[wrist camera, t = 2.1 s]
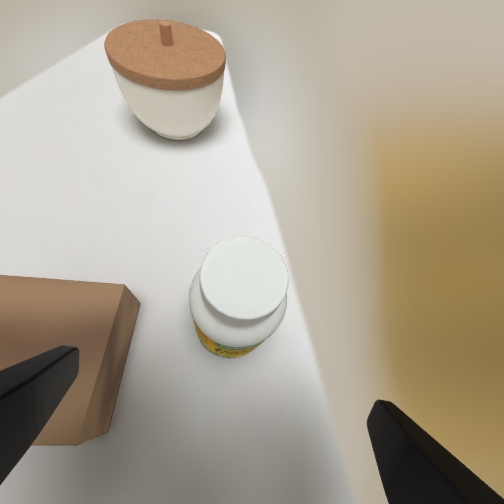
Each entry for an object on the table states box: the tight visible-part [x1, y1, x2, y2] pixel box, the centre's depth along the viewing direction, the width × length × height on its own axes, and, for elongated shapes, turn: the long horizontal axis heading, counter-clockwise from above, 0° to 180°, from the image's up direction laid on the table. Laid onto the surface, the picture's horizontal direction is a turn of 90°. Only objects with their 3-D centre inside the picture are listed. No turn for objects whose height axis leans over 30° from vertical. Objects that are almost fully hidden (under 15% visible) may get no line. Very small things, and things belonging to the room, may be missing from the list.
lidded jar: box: [104, 20, 226, 140], centre depth 25 cm, size 11×11×9 cm
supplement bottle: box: [189, 237, 289, 358], centre depth 15 cm, size 5×5×10 cm
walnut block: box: [0, 275, 140, 445], centre depth 15 cm, size 8×8×4 cm
